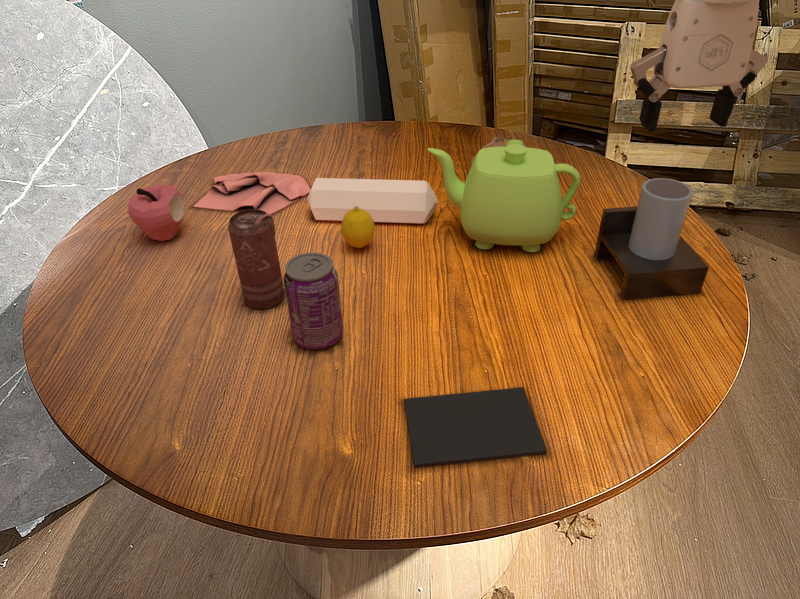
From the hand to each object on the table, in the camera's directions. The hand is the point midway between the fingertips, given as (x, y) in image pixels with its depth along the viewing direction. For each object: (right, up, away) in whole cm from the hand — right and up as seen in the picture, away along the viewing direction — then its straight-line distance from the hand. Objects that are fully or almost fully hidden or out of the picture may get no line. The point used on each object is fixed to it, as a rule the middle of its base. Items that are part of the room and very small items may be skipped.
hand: (682, 125), depth 82 cm
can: (-58, -23, +12) cm, 64 cm away
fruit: (-44, -15, +23) cm, 52 cm away
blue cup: (+1, -15, +12) cm, 19 cm away
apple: (-79, -12, +27) cm, 85 cm away
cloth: (-67, -2, +39) cm, 78 cm away
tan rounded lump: (-18, +2, +43) cm, 47 cm away
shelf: (+1, -19, +15) cm, 24 cm away
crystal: (-43, -8, +32) cm, 54 cm away
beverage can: (-49, -28, +5) cm, 57 cm away
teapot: (-20, -10, +28) cm, 36 cm away
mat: (-29, -38, -9) cm, 49 cm away
